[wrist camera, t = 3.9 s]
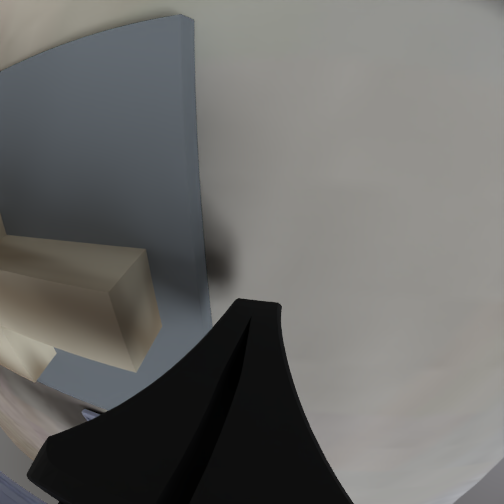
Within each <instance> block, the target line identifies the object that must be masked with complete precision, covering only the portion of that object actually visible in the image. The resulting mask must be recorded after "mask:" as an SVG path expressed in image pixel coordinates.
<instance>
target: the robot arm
mask: <svg viewBox="0 0 504 504" xmlns="http://www.w3.org/2000/svg"><path fill="white" fill-rule="evenodd" d="M281 309H282V306H281V305H280V304H279V303H276V302H266V301H257V300H248V299H240V298H238V299H236V300H235V301H234V302H233V304H232V305H231V306H230V307H229V309H228V310H227V311H226V312H225V314H224V315H223V316H222V317H221V318H220V320H219V321H218V322H217V323H216V324H215V325H214V327H213V328H212V329H211V330H210V331H209V332H208V333H207V334H206V335H205V336H204V337H203V338H202V339H201V340H200V342H199V343H198V344H197V345H196V346H195V347H194V348H192V349H191V350H190V351H189V352H188V353H187V354H186V355H185V356H184V357H183V358H182V359H181V360H180V361H179V362H178V363H176V364H175V365H174V366H173V367H172V368H171V369H169V370H168V371H167V372H166V373H164V374H163V375H162V376H161V377H159V378H158V379H157V380H155V381H154V382H153V383H151V384H150V385H149V386H147V387H146V388H144V389H143V390H141V391H140V392H138V393H137V394H136V395H134V396H133V397H131V398H129V399H128V400H126V401H125V402H123V403H121V404H120V405H118V406H116V407H114V408H112V409H110V410H109V411H107V412H105V413H103V414H101V415H100V414H97V413H95V412H92V411H90V410H87V409H83V411H82V414H83V416H84V417H85V419H86V420H87V422H85V423H83V424H80V425H78V426H75V427H73V428H70V429H68V430H65V431H63V432H60V433H58V434H55V435H52V436H49V437H48V438H47V440H46V441H45V443H44V444H43V446H42V447H41V449H40V451H39V452H38V454H37V456H36V458H35V460H34V462H33V463H32V466H31V467H30V469H29V471H28V473H27V477H28V479H29V480H30V481H31V482H33V483H34V484H35V485H36V486H38V487H39V488H41V489H42V490H43V491H45V492H46V493H48V494H49V495H51V496H52V497H54V498H55V499H57V500H58V501H59V503H58V504H354V503H353V502H352V500H351V499H350V497H349V496H348V494H347V493H346V491H345V490H344V488H343V487H342V485H341V484H340V482H339V480H338V479H337V477H336V475H335V474H334V472H333V470H332V468H331V467H330V465H329V463H328V461H327V460H326V458H325V456H324V454H323V452H322V450H321V448H320V446H319V444H318V442H317V440H316V438H315V436H314V434H313V432H312V430H311V427H310V425H309V423H308V420H307V418H306V415H305V413H304V411H303V408H302V405H301V403H300V400H299V397H298V395H297V392H296V389H295V386H294V382H293V379H292V376H291V372H290V369H289V365H288V361H287V357H286V352H285V347H284V343H283V337H282V329H281ZM0 504H47V503H46V502H44V501H42V500H41V499H39V498H38V497H36V496H35V495H33V494H31V493H30V492H28V491H27V490H26V489H24V488H23V487H21V486H20V485H18V484H17V483H16V482H14V481H13V480H12V479H10V478H9V477H7V476H6V475H5V474H4V473H2V472H1V471H0Z"/></svg>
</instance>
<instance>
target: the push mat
mask: <svg viewBox="0 0 504 504" xmlns="http://www.w3.org/2000/svg"><path fill="white" fill-rule="evenodd" d="M0 214H1V218H2V221H3V225H4V228H5V231H6V234H7V235H13V236H23V237H32V238H42V239H52V240H61V241H71V242H81V243H91V244H101V245H111V246H121V247H131V248H141V249H146V252H147V257H148V263H149V268H150V273H151V278H152V283H153V287H154V292H155V297H156V301H157V306H158V310H159V315H160V319H161V323H162V328H161V329H160V331H159V333H158V335H157V336H156V338H155V340H154V342H153V344H152V345H151V347H150V349H149V351H148V353H147V354H146V356H145V358H144V360H143V362H142V363H141V365H140V367H139V369H138V371H137V372H136V373H135V372H132V371H128V370H124V369H121V368H117V367H114V366H110V365H107V364H103V363H100V362H97V361H94V360H91V359H87V358H84V357H81V356H78V355H75V354H72V353H69V352H66V351H63V350H61V349H58V348H55V347H54V349H55V351H56V353H57V354H56V355H55V356H54V358H53V359H52V360H51V362H50V363H49V364H48V366H47V367H46V368H45V370H44V371H43V372H42V374H41V375H40V377H39V378H38V379H37V381H38V382H40V383H42V384H45V385H47V386H49V387H51V388H53V389H56V390H58V391H60V392H62V393H65V394H67V395H70V396H72V397H74V398H77V399H79V400H82V401H84V402H87V403H90V404H92V405H95V406H98V407H100V408H103V409H106V410H110V409H112V408H114V407H116V406H118V405H120V404H121V403H123V402H125V401H126V400H128V399H129V398H131V397H133V396H134V395H136V394H137V393H138V392H140V391H141V390H143V389H144V388H146V387H147V386H149V385H150V384H151V383H153V382H154V381H155V380H157V379H158V378H159V377H161V376H162V375H163V374H164V373H166V372H167V371H168V370H169V369H171V368H172V367H173V366H174V365H175V364H176V363H178V362H179V361H180V360H181V359H182V358H183V357H184V356H185V355H186V354H187V353H188V352H189V351H190V350H191V349H192V348H194V347H195V346H196V345H197V344H198V343H199V342H200V340H201V339H202V338H203V337H204V336H205V335H206V334H207V333H208V332H209V331H210V330H211V329H212V319H211V309H210V300H209V290H208V280H207V269H206V258H205V247H204V235H203V222H202V209H201V195H200V180H199V163H198V144H197V123H196V97H195V58H194V19H191V18H189V17H186V16H184V15H182V14H180V15H173V16H168V17H162V18H157V19H152V20H147V21H142V22H138V23H133V24H129V25H125V26H121V27H117V28H113V29H110V30H106V31H103V32H99V33H96V34H93V35H89V36H86V37H83V38H80V39H77V40H74V41H71V42H68V43H66V44H63V45H60V46H57V47H55V48H52V49H50V50H47V51H45V52H42V53H40V54H37V55H35V56H33V57H30V58H28V59H26V60H23V61H21V62H19V63H17V64H15V65H13V66H11V67H9V68H7V69H4V70H2V71H0Z"/></svg>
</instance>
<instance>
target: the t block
mask: <svg viewBox="0 0 504 504" xmlns="http://www.w3.org/2000/svg"><path fill="white" fill-rule="evenodd" d="M161 328H162V323H161V319H160V315H159V310H158V306H157V301H156V297H155V292H154V287H153V283H152V278H151V273H150V268H149V263H148V257H147V252H146V249H141V248H131V247H121V246H111V245H101V244H91V243H81V242H71V241H61V240H52V239H42V238H32V237H23V236H13V235H7V234H6V231H5V228H4V225H3V221H2V218H1V214H0V365H2V366H4V367H5V368H7V369H9V370H11V371H13V372H15V373H16V374H18V375H20V376H22V377H24V378H26V379H28V380H30V381H32V382H34V383H35V382H36V381H37V379H38V378H39V377H40V375H41V374H42V372H43V371H44V370H45V368H46V367H47V366H48V364H49V363H50V362H51V360H52V359H53V358H54V356H55V355H56V354H57V353H56V351H55V349H54V347H55V348H58V349H61V350H63V351H66V352H69V353H72V354H75V355H78V356H81V357H84V358H87V359H91V360H94V361H97V362H100V363H103V364H107V365H110V366H114V367H117V368H121V369H124V370H128V371H132V372H135V373H136V372H137V371H138V369H139V367H140V365H141V363H142V362H143V360H144V358H145V356H146V354H147V353H148V351H149V349H150V347H151V345H152V344H153V342H154V340H155V338H156V336H157V335H158V333H159V331H160V329H161Z"/></svg>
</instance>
